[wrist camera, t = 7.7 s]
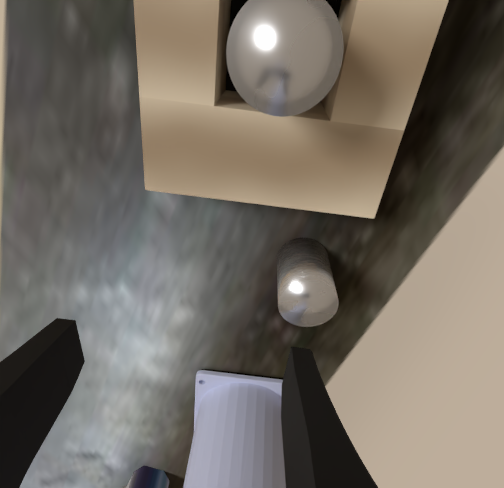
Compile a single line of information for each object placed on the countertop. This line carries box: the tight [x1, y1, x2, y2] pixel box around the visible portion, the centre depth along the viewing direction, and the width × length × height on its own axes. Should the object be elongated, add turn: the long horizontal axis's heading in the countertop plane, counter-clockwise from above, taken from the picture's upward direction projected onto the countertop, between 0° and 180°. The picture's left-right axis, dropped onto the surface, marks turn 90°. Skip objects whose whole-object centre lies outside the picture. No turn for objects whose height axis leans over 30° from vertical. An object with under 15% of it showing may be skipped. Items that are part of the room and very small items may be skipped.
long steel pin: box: [226, 0, 344, 117], centre depth 12 cm, size 3×3×7 cm
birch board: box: [134, 0, 449, 219], centre depth 13 cm, size 12×10×4 cm
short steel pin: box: [277, 238, 339, 327], centre depth 19 cm, size 3×3×4 cm
